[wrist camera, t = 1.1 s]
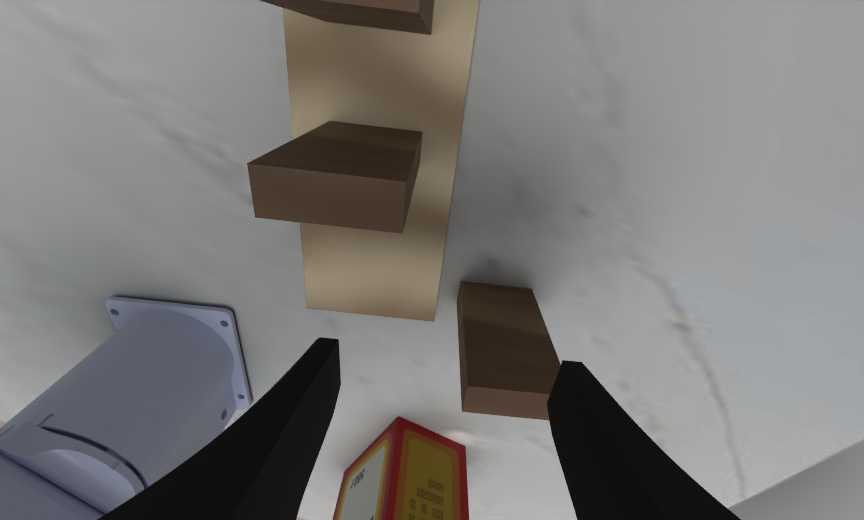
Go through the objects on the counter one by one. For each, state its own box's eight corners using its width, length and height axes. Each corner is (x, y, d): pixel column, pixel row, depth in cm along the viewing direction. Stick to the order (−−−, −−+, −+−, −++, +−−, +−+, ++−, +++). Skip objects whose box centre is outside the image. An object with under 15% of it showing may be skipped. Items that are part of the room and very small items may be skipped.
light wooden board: (434, 315, 23) (434, 321, 22) (310, 302, 23) (306, 308, 22) (533, -397, 10) (538, -422, 10) (254, -440, 10) (244, -468, 10)
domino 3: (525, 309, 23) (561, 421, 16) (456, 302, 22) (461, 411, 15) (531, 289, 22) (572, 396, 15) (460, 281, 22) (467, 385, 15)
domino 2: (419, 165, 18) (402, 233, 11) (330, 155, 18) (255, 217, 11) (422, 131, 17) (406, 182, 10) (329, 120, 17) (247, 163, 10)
